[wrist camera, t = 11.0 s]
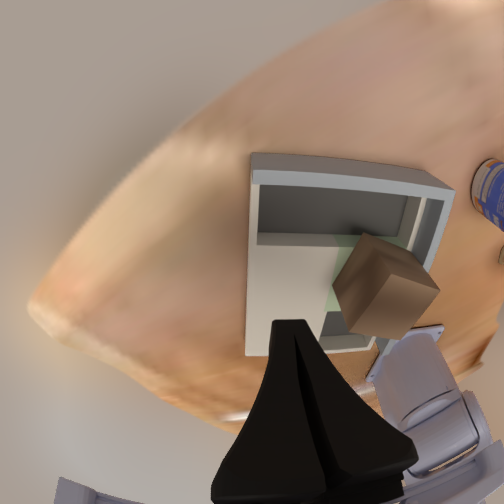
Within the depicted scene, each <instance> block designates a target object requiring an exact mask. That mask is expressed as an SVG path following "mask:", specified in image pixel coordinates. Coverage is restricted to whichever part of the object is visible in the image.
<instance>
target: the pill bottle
mask: <svg viewBox="0 0 504 504" xmlns="http://www.w3.org/2000/svg"><path fill="white" fill-rule="evenodd" d="M472 201H473V204H474V206H475V208H476V209H477V210H478V211H479V212H480V213H481V214H482V215H483V216H485V217H486V218H487V219H489V220H490V221H491V222H492V223H493V224H495V225H496V226H497V227H498V228H500V229H501V230H502V231H503V232H504V163H503V162H501V161H499V160H496V159H490V160H488V161H486V162H485V163H484V164H482V166H481V167H480V168H479V170H478V171H477V173H476V175H475V177H474V180H473V184H472Z"/></svg>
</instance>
